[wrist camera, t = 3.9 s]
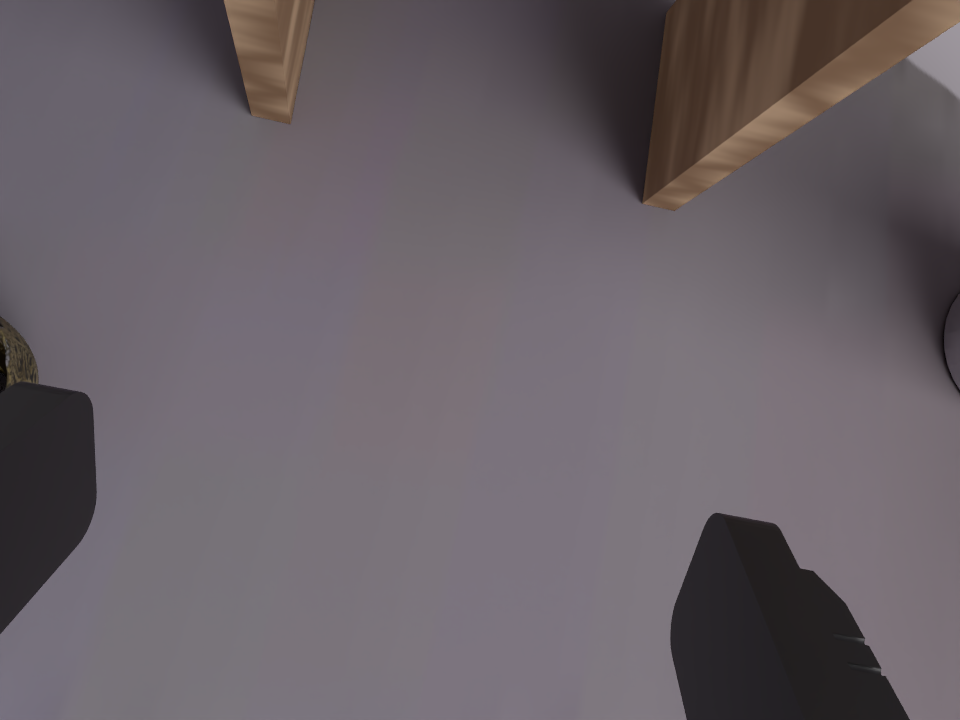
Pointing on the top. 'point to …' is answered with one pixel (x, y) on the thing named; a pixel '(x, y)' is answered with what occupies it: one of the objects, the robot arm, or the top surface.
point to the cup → (16, 356)
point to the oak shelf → (680, 72)
